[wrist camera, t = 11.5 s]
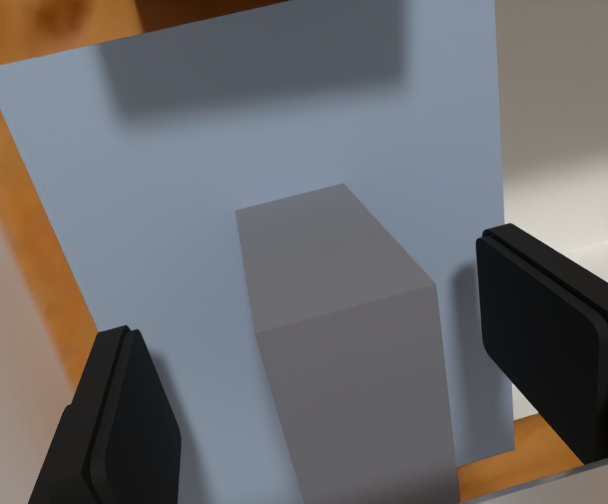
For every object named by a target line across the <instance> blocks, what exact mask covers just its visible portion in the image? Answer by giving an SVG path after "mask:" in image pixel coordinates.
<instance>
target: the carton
mask: <svg viewBox="0 0 608 504" xmlns="http://www.w3.org/2000/svg"><path fill="white" fill-rule="evenodd" d="M495 22H496V44H497V66H498V88H499V110H500V132H501V154H502V176H503V198H504V220H505V224H508V223H511V224H514V225H515V226H517V227H519V228H520V229H522V230H524V231H525V232H527V233H528V234H530V235H532V236H533V237H535V238H537V239H538V240H540V241H541V242H543V243H545V244H546V245H548V246H550V247H551V248H553V249H554V250H556V251H558V252H559V253H561V254H563V255H564V256H566V257H567V258H569V259H571V260H572V261H574V262H576V263H577V264H579V265H580V266H582V267H584V268H585V269H587V270H589V271H590V272H592V273H593V274H595V275H597V276H598V277H600V278H601V279H603V280H605V281H606V282H608V0H495ZM512 397H513V419H514V420H517V419H520V418H523V417H527V416H530V415H534V414H537V413H538V411H537V410H536V409H535V408H534V407H533V406H532V405H531V403H530V402H529V401H528V400H527V399H526V398H525V397H524V395H523V394H522V393H521V392H520V391H519V390H518V389H517V388H516V386H515V385H514V384H513V383H512Z"/></svg>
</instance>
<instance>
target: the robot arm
mask: <svg viewBox="0 0 608 504" xmlns="http://www.w3.org/2000/svg"><path fill="white" fill-rule="evenodd" d="M476 259H477V273H478V287H479V301H480V315H481V329H482V340H483V345H484V348H485V350H486V352H487V354H488V355H489V357H490V358H491V359H492V360H493V361H494V362H495V364H496V365H497V366H498V367H499V368H500V369H501V370H502V372H503V373H504V374H505V375H506V376H507V377H508V378H509V380H510V381H511V382H512V383H513V384H514V385H515V386H516V388H517V389H518V390H519V391H520V392H521V393H522V394H523V395H524V397H525V398H526V399H527V400H528V401H529V402H530V403H531V405H532V406H533V407H534V408H535V409H536V410H537V411H538V413H539V414H540V415H541V416H542V417H543V418H544V419H545V421H546V422H547V423H548V424H549V425H550V426H551V427H552V429H553V430H554V431H555V432H556V433H557V434H558V435H559V437H560V438H561V439H562V440H563V441H564V442H565V443H566V444H567V446H568V447H569V448H570V449H571V450H572V451H573V452H574V454H575V455H576V456H577V457H578V458H579V459H580V460H581V462H582V463H583V464H584V465H583V466H580V467H576V468H573V469H570V470H566V471H563V472H560V473H556V474H553V475H550V476H546V477H543V478H540V479H536V480H533V481H530V482H526V483H523V484H520V485H517V486H513V487H510V488H507V489H503V490H500V491H497V492H494V493H490V494H487V495H484V496H480V497H477V498H474V499H471V500H467V501H464V502H461V503H458V504H608V282H606V281H605V280H603V279H601V278H600V277H598V276H597V275H595V274H593V273H592V272H590V271H589V270H587V269H585V268H584V267H582V266H580V265H579V264H577V263H576V262H574V261H572V260H571V259H569V258H567V257H566V256H564V255H563V254H561V253H559V252H558V251H556V250H554V249H553V248H551V247H550V246H548V245H546V244H545V243H543V242H541V241H540V240H538V239H537V238H535V237H533V236H532V235H530V234H528V233H527V232H525V231H524V230H522V229H520V228H519V227H517V226H515V225H514V224H511V223H508V224H504V225H500V226H497V227H493V228H489V229H485V230H484V231H483V233H482V237H480V238H477V240H476ZM180 459H181V434H180V429H179V426H178V423H177V421H176V418H175V416H174V413H173V411H172V408H171V406H170V403H169V401H168V398H167V396H166V393H165V391H164V388H163V386H162V383H161V381H160V379H159V376H158V374H157V371H156V369H155V366H154V364H153V361H152V359H151V356H150V354H149V351H148V349H147V346H146V344H145V341H144V339H143V336H142V334H141V332H140V331H139V330H138V329H135V330H132V331H131V329H130V328H129V327H128V326H127V325H124V326H120V327H117V328H113V329H109V330H105V331H101V332H98V334H97V336H96V339H95V341H94V344H93V347H92V349H91V352H90V355H89V357H88V360H87V363H86V365H85V368H84V371H83V373H82V376H81V379H80V382H79V384H78V387H77V390H76V392H75V395H74V398H73V400H72V403H71V404H70V405H68V406H67V407H66V408H65V410H64V412H63V414H62V416H61V419H60V422H59V424H58V427H57V429H56V432H55V435H54V437H53V440H52V442H51V445H50V447H49V450H48V453H47V455H46V458H45V461H44V463H43V466H42V468H41V471H40V473H39V476H38V479H37V481H36V484H35V486H34V489H33V492H32V494H31V497H30V499H29V502H28V504H178V490H179V475H180Z"/></svg>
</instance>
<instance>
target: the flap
mask: <svg viewBox="0 0 608 504" xmlns="http://www.w3.org/2000/svg"><path fill="white" fill-rule="evenodd" d="M0 110H1V112H2V114H3V116H4V119H5V121H6V123H7V126H8V128H9V130H10V132H11V135H12V137H13V139H14V141H15V144H16V146H17V148H18V150H19V153H20V155H21V157H22V159H23V162H24V164H25V166H26V168H27V171H28V173H29V175H30V178H31V180H32V182H33V184H34V187H35V189H36V191H37V193H38V196H39V198H40V200H41V202H42V205H43V207H44V209H45V211H46V214H47V216H48V218H49V221H50V223H51V225H52V227H53V230H54V232H55V234H56V236H57V239H58V241H59V243H60V245H61V248H62V250H63V252H64V254H65V257H66V259H67V261H68V263H69V266H70V268H71V270H72V273H73V275H74V277H75V279H76V282H77V284H78V286H79V288H80V291H81V293H82V295H83V297H84V300H85V302H86V304H87V306H88V309H89V311H90V313H91V315H92V318H93V320H94V322H95V325H96V327H97V329H98V331H99V332H101V331H105V330H109V329H113V328H117V327H120V326H124V325H127V326H128V327H129V328H130V329H131V331H132V330H135V329H138V330H139V331H140V332H141V334H142V336H143V339H144V341H145V344H146V346H147V349H148V351H149V354H150V356H151V359H152V361H153V364H154V366H155V369H156V371H157V374H158V376H159V379H160V381H161V383H162V386H163V388H164V391H165V393H166V396H167V398H168V401H169V403H170V406H171V408H172V411H173V413H174V416H175V418H176V421H177V423H178V426H179V429H180V434H181V459H180V475H179V490H178V504H458V503H460V494H459V485H458V476H457V467H459V466H463V465H466V464H469V463H473V462H476V461H479V460H483V459H486V458H489V457H492V456H496V455H499V454H502V453H506V452H509V451H512V450H515V441H514V419H513V397H512V382H511V381H510V380H509V378H508V377H507V376H506V375H505V374H504V373H503V372H502V370H501V369H500V368H499V367H498V366H497V365H496V364H495V362H494V361H493V360H492V359H491V358H490V357H489V355H488V354H487V352H486V350H485V348H484V345H483V340H482V329H481V315H480V301H479V287H478V273H477V259H476V240H477V238H480V237H482V233H483V231H484V230H485V229H489V228H493V227H497V226H500V225H504V224H505V220H504V198H503V176H502V154H501V132H500V110H499V88H498V66H497V44H496V22H495V0H291V1H286V2H282V3H277V4H273V5H268V6H264V7H259V8H255V9H251V10H246V11H242V12H237V13H233V14H228V15H224V16H219V17H215V18H210V19H206V20H201V21H197V22H192V23H188V24H184V25H179V26H175V27H170V28H166V29H161V30H157V31H152V32H148V33H143V34H139V35H134V36H130V37H125V38H121V39H117V40H112V41H108V42H103V43H99V44H94V45H90V46H85V47H81V48H76V49H72V50H67V51H63V52H58V53H54V54H50V55H45V56H41V57H36V58H32V59H27V60H23V61H18V62H14V63H9V64H5V65H0Z"/></svg>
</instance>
